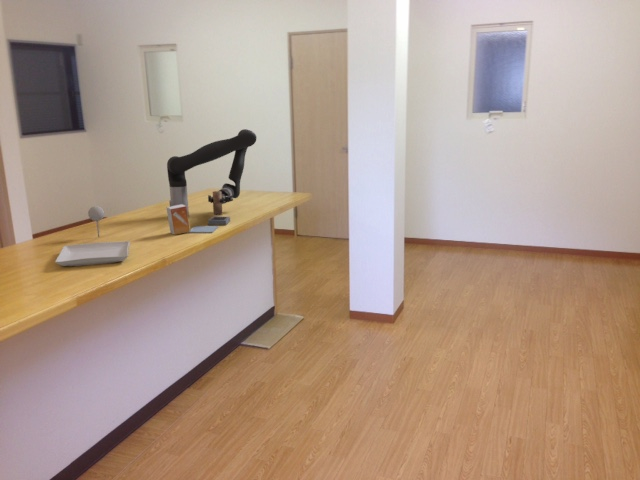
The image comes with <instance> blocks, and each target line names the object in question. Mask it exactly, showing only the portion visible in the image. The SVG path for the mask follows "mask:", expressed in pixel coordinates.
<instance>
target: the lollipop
mask: <svg viewBox="0 0 640 480" xmlns="http://www.w3.org/2000/svg"><path fill="white" fill-rule="evenodd" d="M87 215H88V218H89V220H92V221H93V222H96V228H97V237H98V238H100V229H99V227H100V226H99V221H101V220H103V218H104V217H105V211H104V209H103V208H102V207H101V206H98V205H96V206H95V205H94V206H91V207H90V208H89V209H88V213H87Z"/></svg>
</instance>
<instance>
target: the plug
mask: <svg viewBox="0 0 640 480" xmlns="http://www.w3.org/2000/svg"><path fill="white" fill-rule="evenodd" d="M212 197H213V203H212V209H213V216H223V204H222V203H220V199H221V198H222V192H221V191H219V190H213V191H212Z"/></svg>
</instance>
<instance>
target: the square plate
mask: <svg viewBox="0 0 640 480" xmlns="http://www.w3.org/2000/svg"><path fill="white" fill-rule="evenodd" d="M130 245H131V241H129V240H126V241H124V240H123V241H104V242H89V243H88V242H87V243H77V244H70V245H63V247H62V248H61V250H60V252H59V253H58V255H57V258H56V259H55V261H54V263H56V264H58V265H59V266H62V267H63V266H65V267H81V266H91V265H102V264H113V263H117V262H118V263H119V262H123V261H125V260H126V259H127V258H128V257H129V254H130V250H129V249H130Z"/></svg>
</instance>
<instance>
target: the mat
mask: <svg viewBox="0 0 640 480" xmlns="http://www.w3.org/2000/svg"><path fill="white" fill-rule="evenodd" d="M218 228H219V225H205V226H204V225H202V226H201V225H198V226H197V225H196V226H193V227H192V228H191V229H190V232H187V233H188V234H212V233H215V231H216V230H218Z"/></svg>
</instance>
